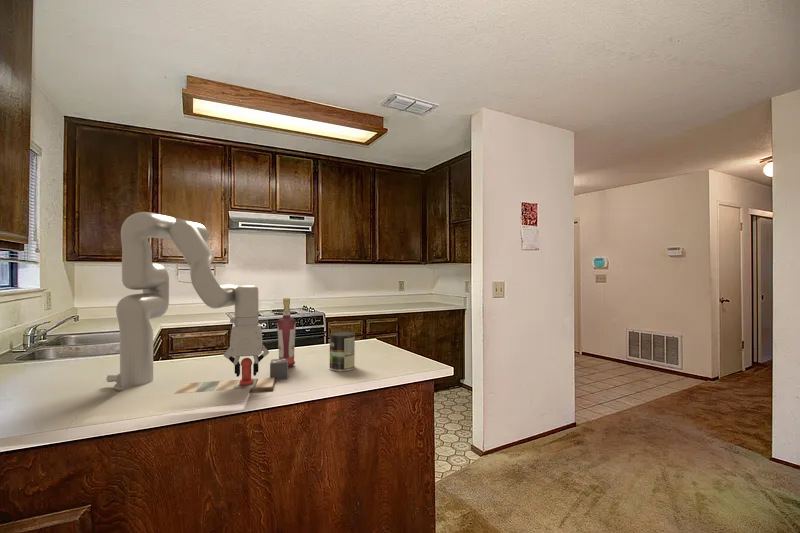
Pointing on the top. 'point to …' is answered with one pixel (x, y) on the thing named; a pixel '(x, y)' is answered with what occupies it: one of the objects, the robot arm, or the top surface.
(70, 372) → the top surface
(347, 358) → the coffee can
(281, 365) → the die
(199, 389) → the board
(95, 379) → the top surface
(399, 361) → the top surface
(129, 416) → the top surface
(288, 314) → the liquor
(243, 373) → the pawn
